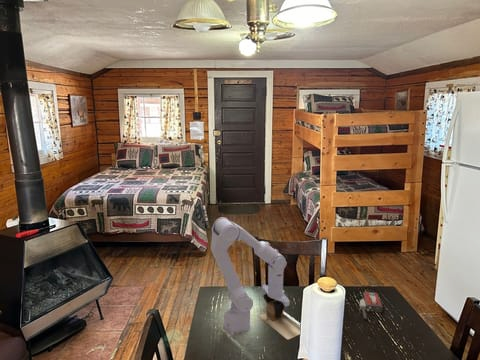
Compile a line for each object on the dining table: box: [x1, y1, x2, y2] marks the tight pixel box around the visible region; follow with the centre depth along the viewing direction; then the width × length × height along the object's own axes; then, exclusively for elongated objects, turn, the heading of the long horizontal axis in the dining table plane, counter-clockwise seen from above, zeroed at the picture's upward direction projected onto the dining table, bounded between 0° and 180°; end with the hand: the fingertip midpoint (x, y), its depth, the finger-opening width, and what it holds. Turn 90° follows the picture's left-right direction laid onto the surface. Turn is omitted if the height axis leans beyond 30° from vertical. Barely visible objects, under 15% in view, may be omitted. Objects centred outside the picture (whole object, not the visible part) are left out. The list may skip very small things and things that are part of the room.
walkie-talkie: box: [359, 291, 384, 320], centre depth 148 cm, size 9×4×20 cm
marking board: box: [257, 310, 302, 341], centre depth 136 cm, size 9×18×3 cm, turn 33°
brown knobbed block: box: [265, 300, 283, 321], centre depth 139 cm, size 8×4×6 cm, turn 123°
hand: (274, 314), depth 139 cm, fingers closed on brown knobbed block, 4 cm apart
